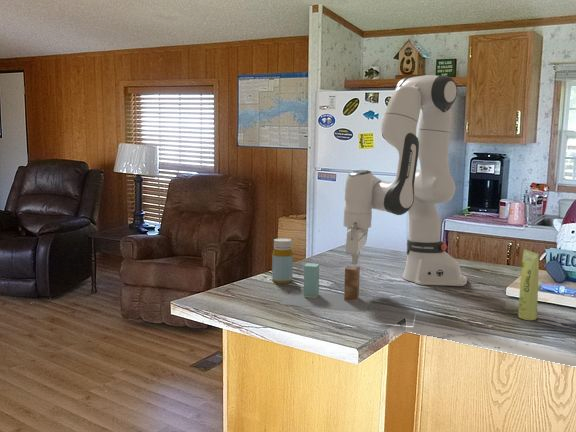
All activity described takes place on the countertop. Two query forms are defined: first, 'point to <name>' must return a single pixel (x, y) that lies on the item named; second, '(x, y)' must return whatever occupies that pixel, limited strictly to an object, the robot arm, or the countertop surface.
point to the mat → (327, 301)
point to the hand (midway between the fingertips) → (355, 263)
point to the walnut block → (351, 283)
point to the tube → (529, 286)
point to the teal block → (311, 280)
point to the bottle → (282, 261)
